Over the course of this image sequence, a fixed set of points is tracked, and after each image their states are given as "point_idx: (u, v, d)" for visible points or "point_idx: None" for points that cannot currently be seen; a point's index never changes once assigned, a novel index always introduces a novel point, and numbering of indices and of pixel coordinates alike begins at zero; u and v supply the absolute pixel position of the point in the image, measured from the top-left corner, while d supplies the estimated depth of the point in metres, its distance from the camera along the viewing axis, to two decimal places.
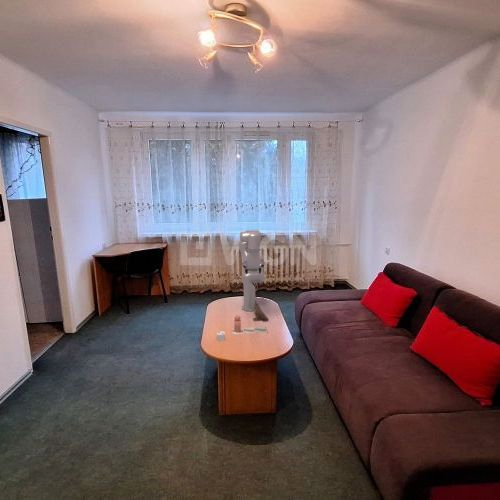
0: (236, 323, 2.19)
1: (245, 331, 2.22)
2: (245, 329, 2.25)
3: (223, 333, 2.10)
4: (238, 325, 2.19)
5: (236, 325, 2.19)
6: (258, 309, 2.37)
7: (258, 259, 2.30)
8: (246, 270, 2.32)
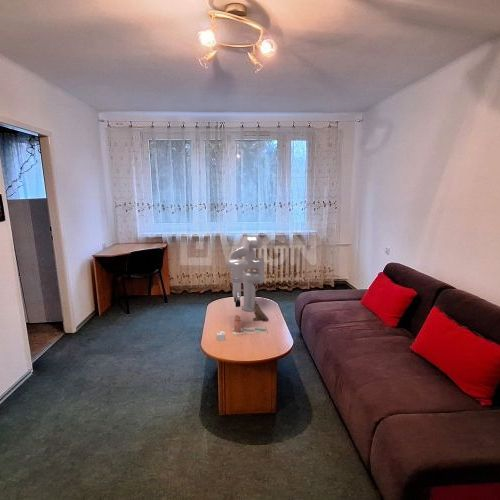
0: (236, 323, 2.19)
1: (245, 331, 2.22)
2: (245, 329, 2.25)
3: (223, 333, 2.10)
4: (238, 325, 2.19)
5: (236, 325, 2.19)
6: (258, 309, 2.37)
7: None
8: (239, 302, 2.13)
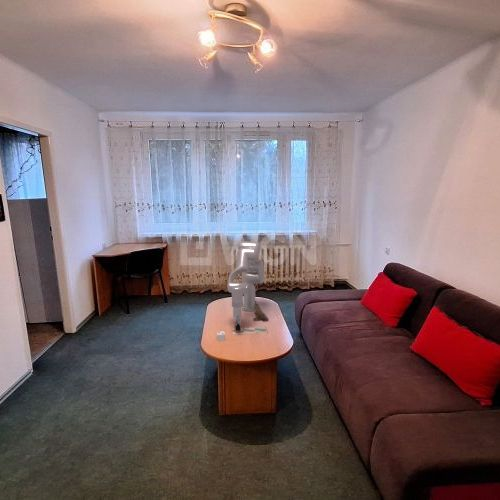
0: None
1: (245, 331, 2.22)
2: (245, 329, 2.25)
3: (223, 333, 2.10)
4: None
5: None
6: (258, 309, 2.37)
7: None
8: (239, 326, 2.19)
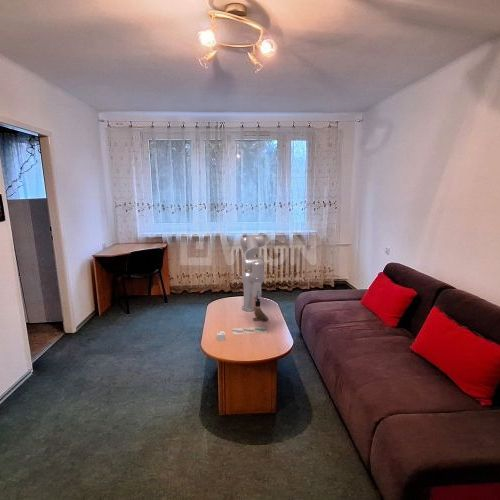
0: None
1: (245, 331, 2.22)
2: (245, 329, 2.25)
3: (223, 333, 2.10)
4: None
5: None
6: (258, 309, 2.37)
7: None
8: (259, 302, 2.17)
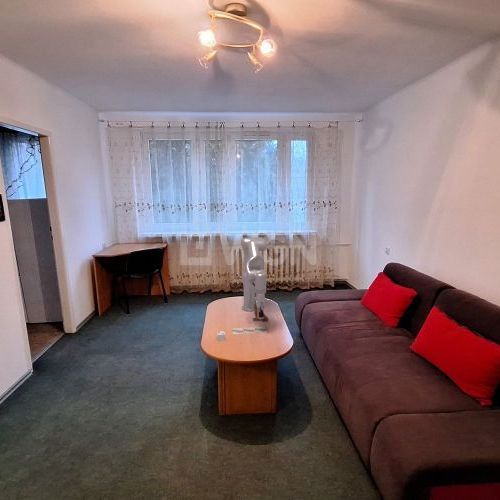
0: None
1: (245, 331, 2.22)
2: (245, 329, 2.25)
3: (223, 333, 2.10)
4: None
5: None
6: None
7: None
8: None
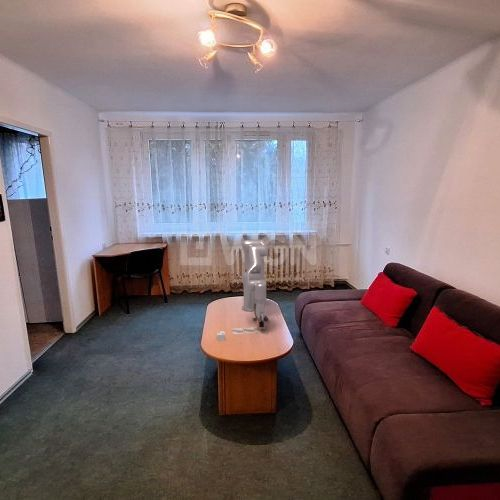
0: None
1: (245, 331, 2.22)
2: (245, 329, 2.25)
3: (223, 333, 2.10)
4: None
5: None
6: None
7: None
8: (262, 323, 2.18)
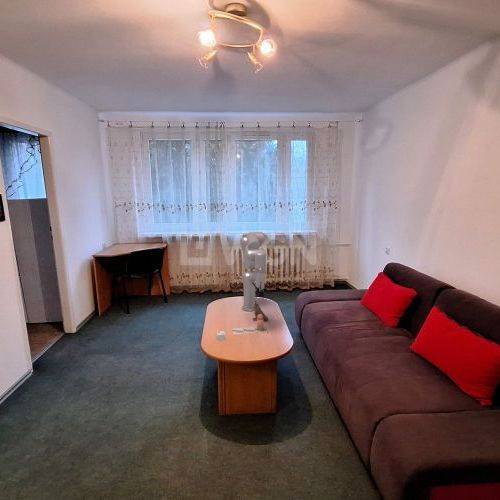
0: (259, 322, 2.21)
1: (245, 331, 2.22)
2: (245, 329, 2.25)
3: (223, 333, 2.10)
4: (261, 324, 2.21)
5: (259, 324, 2.22)
6: (258, 309, 2.37)
7: None
8: None
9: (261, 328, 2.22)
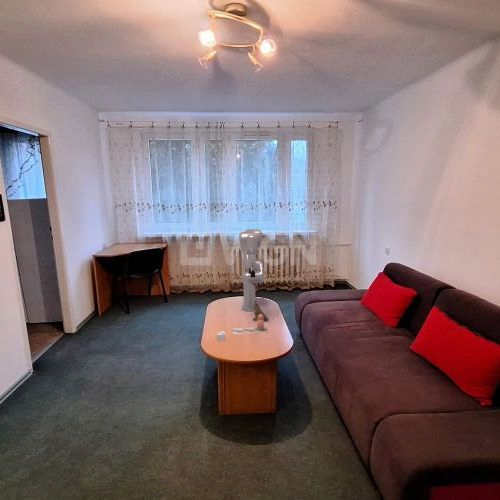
0: (259, 322, 2.21)
1: (245, 331, 2.22)
2: (245, 329, 2.25)
3: (223, 333, 2.10)
4: (261, 324, 2.21)
5: (259, 324, 2.22)
6: (258, 309, 2.37)
7: None
8: (254, 273, 2.25)
9: (261, 328, 2.22)
